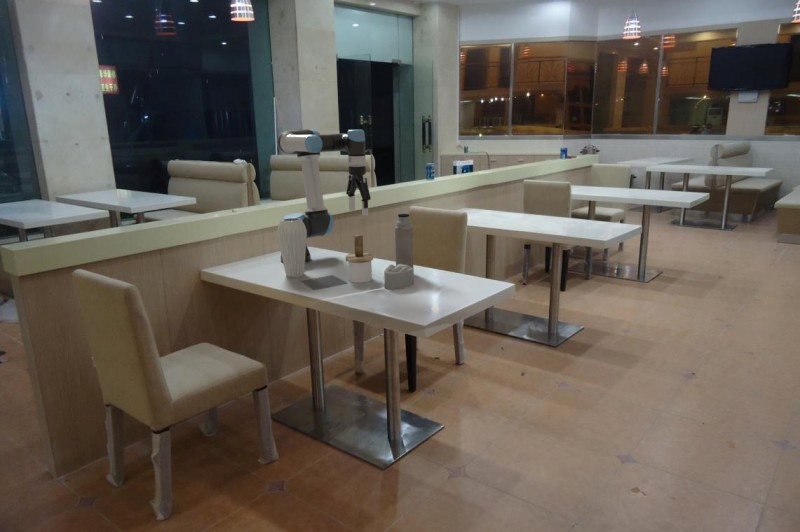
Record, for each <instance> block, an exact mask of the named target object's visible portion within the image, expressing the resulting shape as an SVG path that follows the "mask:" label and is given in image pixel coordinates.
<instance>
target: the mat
mask: <svg viewBox="0 0 800 532" xmlns="http://www.w3.org/2000/svg"><path fill="white" fill-rule="evenodd" d="M299 282H300V283H302V284H304V286H307V287H308V288H310V289H311V290H313V291H315V290H316V291H317V290H322V289H326V288H333V287H337V286H344V285H348V284H349V283H348V282H347V281H345V280H342V279H341V278H338V277H337V276H336V275H334V274H333V275H331V274H330V275H325V276H322V277H321V276H320V277H315V278H310V279H304V280H299Z"/></svg>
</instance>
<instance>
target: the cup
mask: <svg viewBox="0 0 800 532" xmlns="http://www.w3.org/2000/svg"><path fill="white" fill-rule="evenodd" d="M347 263H348V278H349V282H351V283H354V284H365V283H368V282H371V281H372V279H373V269H372V267H373V266H372V261H369V262H363V263H352V262H347Z"/></svg>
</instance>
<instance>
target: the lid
mask: <svg viewBox="0 0 800 532" xmlns="http://www.w3.org/2000/svg"><path fill="white" fill-rule="evenodd" d="M353 239H354V252H353V253H349V254H346V255H345V261H346V262H347V263H348V262H352V263H363V262H369V261H371V262H372V261H373V260H374V255H373V254H372V253H370V252H364V239H363V235H362V234H355V235H354V236H353Z"/></svg>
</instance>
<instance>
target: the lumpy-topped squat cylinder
mask: <svg viewBox="0 0 800 532" xmlns="http://www.w3.org/2000/svg"><path fill="white" fill-rule="evenodd" d="M413 268H414V267H413ZM413 268H412V267H410V266H408V265H403V264H398V265H397V266H396V265H394V264H393V263H392V264H389V265H388V266H387V267H386V269H384V272H383V275H384V289H385V290H389V291H390V290H392V291H395V290H403V289H407V288H410V287H412V286H414V283H415V282H414V281H415V280H414V275H413Z"/></svg>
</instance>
